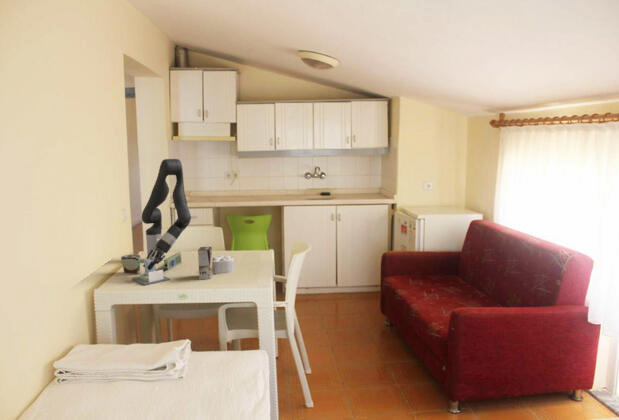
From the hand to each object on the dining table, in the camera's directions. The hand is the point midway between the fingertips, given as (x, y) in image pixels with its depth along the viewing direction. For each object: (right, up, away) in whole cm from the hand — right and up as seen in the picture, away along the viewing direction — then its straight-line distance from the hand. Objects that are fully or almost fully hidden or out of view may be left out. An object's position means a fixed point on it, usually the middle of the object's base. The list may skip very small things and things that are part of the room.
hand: (146, 268), depth 259 cm
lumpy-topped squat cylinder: (+38, -4, +17) cm, 42 cm away
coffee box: (+31, -6, +6) cm, 32 cm away
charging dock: (+2, -7, +2) cm, 7 cm away
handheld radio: (+5, -4, +29) cm, 30 cm away
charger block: (+1, -4, +2) cm, 5 cm away
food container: (-13, -5, +19) cm, 24 cm away
